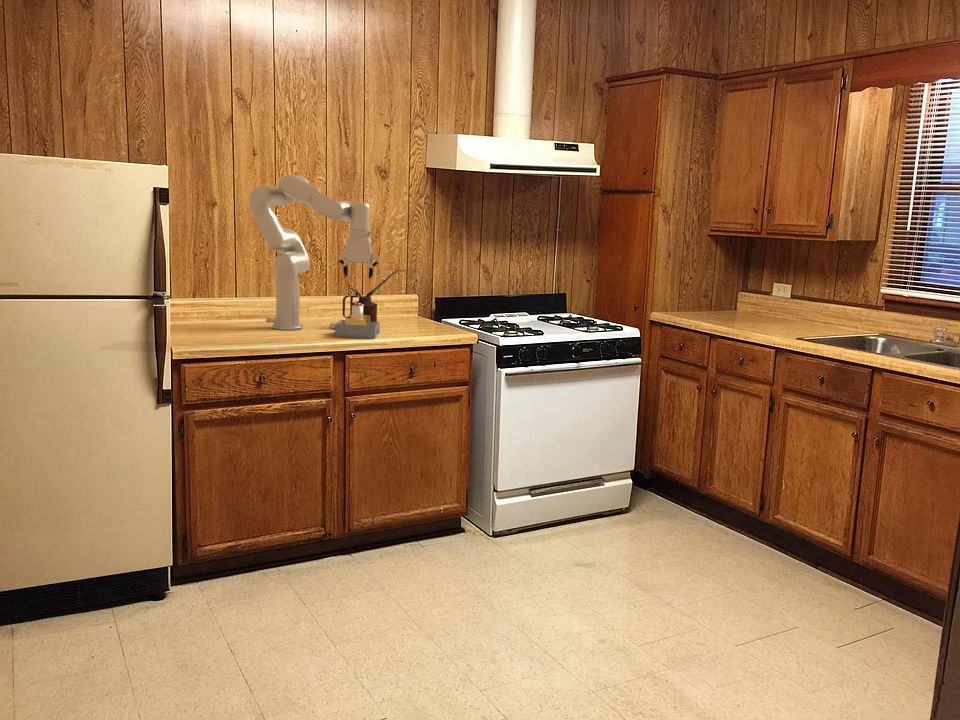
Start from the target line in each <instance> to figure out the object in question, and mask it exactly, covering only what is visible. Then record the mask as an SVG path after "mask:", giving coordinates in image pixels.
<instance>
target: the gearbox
mask: <svg viewBox="0 0 960 720" xmlns="http://www.w3.org/2000/svg"><path fill="white" fill-rule="evenodd" d="M349 316H350V318H345V319H340V320H339V321H337V322H336V323H332V322H331V323H330V325H329V330H330V331H334V337H335V336H349V337H348V338H352V337H366V338H365V339H373V338H375V339H376V338H377V337H378V336H379V335H380V334H379V333H381V332H380V329H381V328H380V326H381V325H380V324H381V321H377V322H374V321H370V315H363V319H356V318H352V315H350V314H349ZM378 334H379V335H378ZM377 335H378V336H377ZM376 336H377V337H376Z"/></svg>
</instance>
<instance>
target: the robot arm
mask: <svg viewBox="0 0 960 720" xmlns="http://www.w3.org/2000/svg"><path fill="white" fill-rule="evenodd" d="M294 201H297V202H299V203H302V204H303V205H306V206H308V207H309V208H310V209H311V210H312V211H314V212H316V213H317V214H318V215H321V216H323V217H326V218H328V219H330V220H334V221H350V223H349V236H348V238H347V242H346V250H345V251H343V252H341V253H339V254H337V255H336V257H337V259H338V262H339V263H340V264H341V265H342V267H343V272H342V273H343V275H344V277H345V278H346V277H348V276H349V266H348V265H349V263H353V264H354V263H357V264H367V265H368V266H369V267H368V278H369V279H372V277H374V268H375V267H376V266H377V265H378V264H379V262H380V260H381V257H380V256H379V255H377V254H375V253H374V252H373V245H372V243H373V242H372V238H371V237H370V236H373V234H374V232H373V231H370V215H371V214H370V213H371V211H370V210H371V209H370V208H371V207H370V204H369V203H367V202H352V201H351V202H350V201H347V200H335V199H333V198H330V197H328V196H327V195H324V194H323V193H321V188H320V187H319V186H316V185H314V184H312V183H311V182H309V180H308V179H307V178H306V177H305V176H302V175H296V174H295V175H294V174H286V175H284V176H282V177H281V178H280V180H279V182H278V185H274V184H273V185H272V184H259V185H258V186H255V187H254V188H253V189H252V190H251V192H250V194H249V196H248V207H249V210H250V213H251V215H252V217H253V218H254V220H255V222H256V224H257V227H258V228H259V230H260V234H261V235H262V237H263V240H264V241H265V243H266V245H267V247H268V249H270V251H273V252H281V253H279V254H278V255H277V256H275V258H274V260H273V269H274V275H275V316H274V317H265V322H266V323H273V324H272V325H271V327H272V329H275V330H281V331H282V330H284V331H295V330H302V329H303V328H304V325H303V324H301V323H300V307H301V306H300V303H301V302H300V300H301V299H300V293H301V292H300V288H301V287H300V281H299V276H298V275H302V274H305V273H306V272H308V270H309V269H310V265H311V260H310V257H309V255H308V252H307V250H306V248H305V246H304V244H303V242H302V240H301V237H300V236H299V234H298V233H297V232H296V231H295V230H293V228H288V227H286V228H285V227H283V226H282V225H281V222H280V220H279V219H278V217H277V215H276V214H275V213H274V211H273V210H272V209H271V207H282V206H284V205H285V206H286V205H288V204H291V203H292V202H294ZM344 256H345V261H344V260H343V258H342V257H344ZM373 258H374V259H375V261H374V262H372V261H373Z"/></svg>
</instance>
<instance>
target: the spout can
mask: <svg viewBox="0 0 960 720" xmlns="http://www.w3.org/2000/svg"><path fill="white" fill-rule="evenodd" d="M354 303H355V305H352V318H356V319H363V306H364V304H361V303H356V302H354Z"/></svg>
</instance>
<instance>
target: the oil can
mask: <svg viewBox="0 0 960 720" xmlns="http://www.w3.org/2000/svg"><path fill="white" fill-rule="evenodd" d="M397 272H406V270H405V269H396V270H394V271H393V272H392V273H390V274H389V276H387V277H386V278H385V279H384V280H383V281H381V282H380V283H379V284H377V285H376V287H374V288H373V289H372V290H371V291H369V292H368V293H367V294H365V295H361V293H360V292H359V290H358V289H354V288H353V287H349V288H350V290H351V291H352V292H355V295H345V296H343V299H342V316H343V317H344V318H345V319H346V318H350V315H352V305H355V303H361V304H364V306H363V315H370V321H374V322H378V305H379V304H378V303H375V302H373V301H372V296H373V294H374V293H375V292H377V290H378V289H379V288H381V286H383V285H384V284H385V283H386V282H387V281H389V279H390V278H391V277H393V275H394V274H396V273H397ZM347 298H350V302H349V304H350V305H349V306H350V307H349V310H350V311H349V312H350V313H349V316H346V315H345V314H346V299H347ZM354 298H358V301H356V302H353V300H354Z"/></svg>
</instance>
